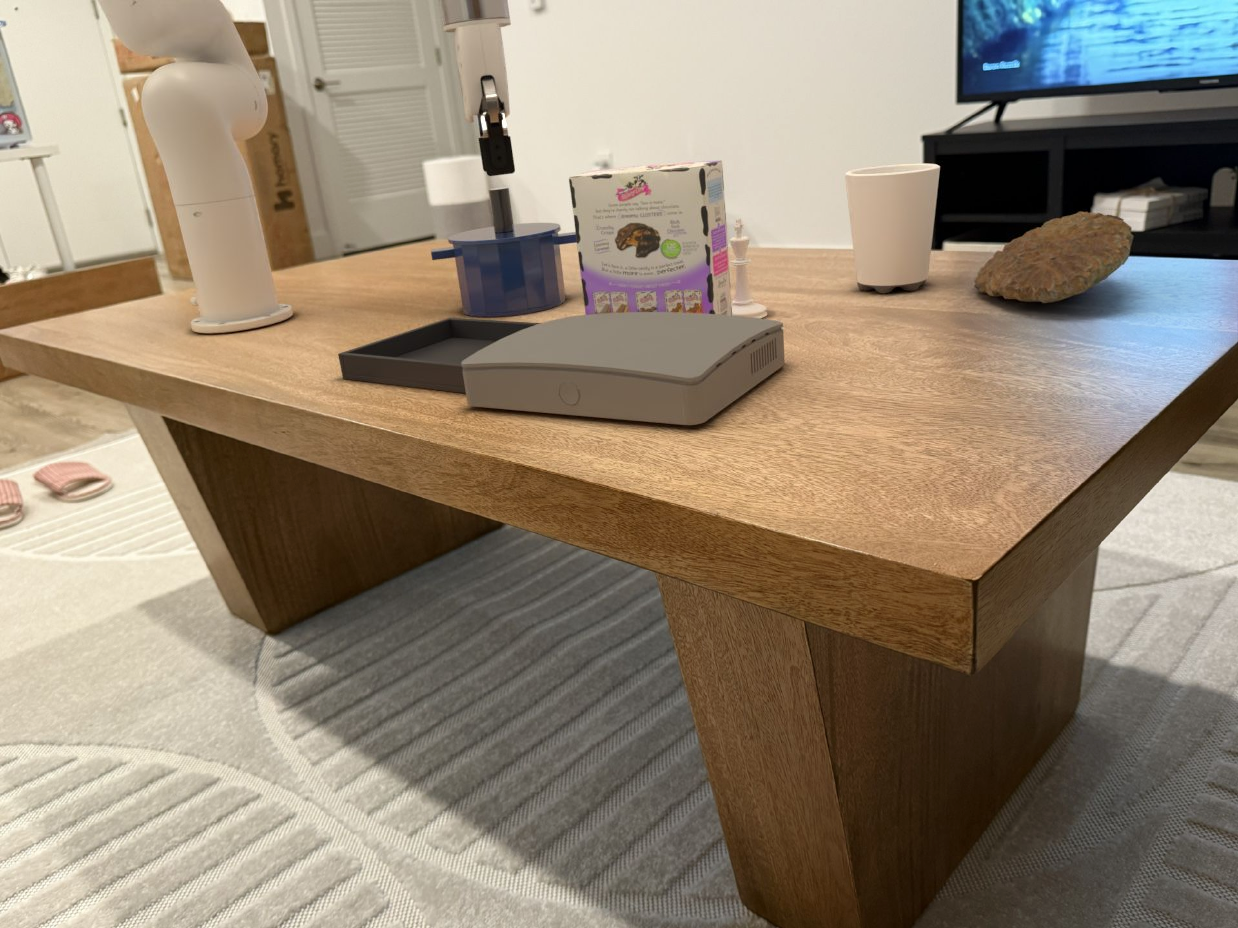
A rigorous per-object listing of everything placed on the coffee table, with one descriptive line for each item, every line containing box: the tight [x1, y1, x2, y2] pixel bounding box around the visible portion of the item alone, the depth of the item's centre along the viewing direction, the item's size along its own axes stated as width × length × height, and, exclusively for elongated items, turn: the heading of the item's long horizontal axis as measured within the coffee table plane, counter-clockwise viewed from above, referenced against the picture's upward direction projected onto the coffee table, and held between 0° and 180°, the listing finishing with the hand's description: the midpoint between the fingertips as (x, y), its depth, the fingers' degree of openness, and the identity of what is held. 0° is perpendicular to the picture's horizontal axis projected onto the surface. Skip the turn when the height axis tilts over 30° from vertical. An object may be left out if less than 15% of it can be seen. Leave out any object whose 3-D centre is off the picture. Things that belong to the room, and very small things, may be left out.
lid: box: [447, 186, 562, 245], centre depth 118 cm, size 14×14×6 cm
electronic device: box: [461, 312, 786, 426], centre depth 82 cm, size 19×22×5 cm
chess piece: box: [729, 218, 768, 319], centre depth 102 cm, size 5×5×10 cm
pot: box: [430, 231, 577, 318], centre depth 120 cm, size 13×18×8 cm
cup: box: [844, 163, 941, 294], centre depth 108 cm, size 10×10×13 cm
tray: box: [337, 317, 542, 394], centre depth 95 cm, size 17×15×2 cm
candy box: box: [568, 160, 732, 316], centre depth 95 cm, size 14×6×16 cm, turn 65°
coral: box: [973, 211, 1134, 304], centre depth 97 cm, size 19×9×15 cm
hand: (498, 172), depth 116 cm, fingers open, 9 cm apart
